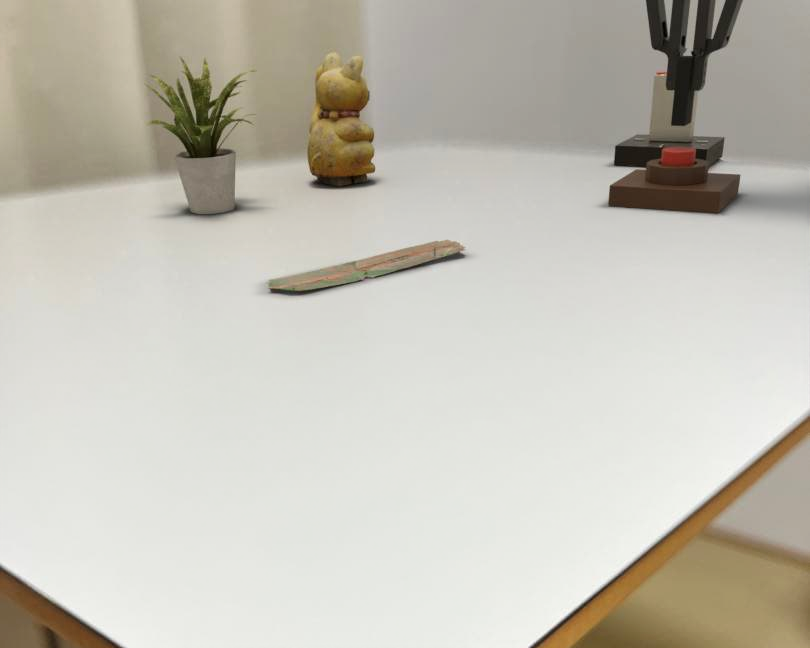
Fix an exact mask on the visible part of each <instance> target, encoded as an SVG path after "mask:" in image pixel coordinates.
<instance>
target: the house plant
mask: <svg viewBox="0 0 810 648" xmlns="http://www.w3.org/2000/svg"><path fill="white" fill-rule="evenodd" d="M179 58H180V60H181V63H182V66H183V69H184V71H182V70H181V72H182V73H183V74H184V75H185V77H186V79H187V81H188V82H187V83H188V85H189V89H190V94H191V98H192V102H193V107H194V110H195V118H194V115H193V111H192V109H191V106H190V104H189V102H188V99H187V96H186V93H185V90H184V88H183V85H182V84H181V81H180V79H179V77H177V79H176V89H177V92H178V95H177V93H176V91H175V89H174V88H173V86H172V85H171V84H170V85H169V84H167V83H166V82H165V81H163V80H162V79H161V78H159V77H158V76H155V75H153V74H149V76H150V77H152V79H154V80H155V82H156V83H157V84H158V86H159V87H160V88H161V90H162V91H163V92H164V94H165V96H166V97H167V99H168V100H167V99H166V98H165V97H163V96H162V94H160V93H159V92H158V91H157V90H156V89H154V88H153V87H151V86H149V85H148V84H146V83H144V85H145V87H147V88H148V89H149V90H151V91H153V93H154V94H155V95H157V97H158V98H159V99H160V100H161V101H162V102H163V103H164V104H165V105H166V106H167V107H168V108H169V110H171V112H172V113H173V114H174V118H173V123H174V124H171V123H168V122H166V121H162V120H159V119H154V120H151V121H149V122H148V123H147V124H146V125H145V127H147V126H150V125H162V128H164V129H166V130H167V131H169V132H170V133H171V134H173V135H174V136H176V137H177V138H178V139H179V140H180V143H182V145H183V146H184V148H185V150H184V151H180V152H176V153H175V154H174V155H173V158H174V161H175V165H176V168H177V171H178V175H179V178H180V181H181V184H182V188H183V191H184V194H185V197H186V200H187V204H188V207H189V210H190V212H191V213H193V214H197V215H214V214H223V213H227V212H231V211H233V210H234V209H235V204H236V203H235V202H236V200H235V199H236V198H235V197H236V165H237V164H236V160H237V159H236V158H237V157H236V156H237V152H236V150H235V149H231V148H221V147H222V145H223V144H224V142H225V140H226V139H227V138H228V137H229V135H230V134H231V133H232V132H233V130H234V129H235V128H236V126H237V125H239V123H241V124H243V123H242V122H245V123H248V124H250V125H252V126H254V124H253V123H252V122H251V121H250V120H247V119H244V118H245V117H248V116H249V117H250V116H253V115H256V113H250V114H247V115H245V116H243V117H242V118H232V117H233V116H234V115H235V113H236V112H237V111H240V110H241V109H244V108H245V106H244V107H237V108H235V109H233V110H231V111H230V112H228V114H227V115H225V114H224V115H222V114H223V111H224V108H225V106H226V103H227V102H228V100H229V98H232V97H235V96H237V95H239V94H241V93H242V91H241V92H240V91H239V92H234V93H233V91H234V90H235V89H236V88H243V87H244V86H242V85H239V84H241V83H244V82H248V79H246V80H240V79H241V77H243V76H245V75H246V74H249V73H253V72H256V70H254V69H252V70H249V71H244V72H242V73H239V74H238V75H236V76H235V77H234V78H232V79H231V80H230V81H229V82H228V83H227V84H226V85H225V86H224V87H223V89H222V90H221V91H220V93H219V95H218V97H217V98H215V99H213V100H211V95H212V89H213V86H212V85H213V84H212V83H211V71H210V69H209V64H208V62H207V60H206V57H204V59H203V64H202V74H201V77H196V78H194V77H193V75H192V73H191V71H190V69H189V67H188V64H187V63H186V61H185V60H184V59H183V58H182V56H179ZM238 80H239V81H238ZM211 109H212V110H211ZM210 110H211V113H210V116H209V111H210ZM221 118H222V119H221ZM235 122H236V123H235ZM231 123H235V125H234V126H233V127H232V129H231V130H230V131H229V132H228V133H227V135H226V136H225V138H224V139H222V141H221V143H220V144H219V145H218V143H219V141H220V138H221V136H222V133H223V131H224V130H225V129H226V127H227V126H229V125H230V124H231Z"/></svg>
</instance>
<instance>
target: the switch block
mask: <svg viewBox="0 0 810 648" xmlns="http://www.w3.org/2000/svg"><path fill="white" fill-rule="evenodd" d="M709 167H710V166H709V162H707V161H705V160H701V159H695V164H694V165H690V166H666V165H661V159H655V160H650V161H649V162H647V163H646V167H645V169H637V168H636V169H635V170H633V171H631V172H629V173H628V174H626V175H625V176H623V177H621V178H619V179H618V180H616V181H614V182H613V183H611V184H610V185H609V189H608V190H609V191H608V203H607V206H608V207H618V208H633V209H634V208H635V209H649V210H663V211H677V212H678V211H679V212H694V213H709V214H711V213H712V214H719V213H720V212H721V211H722V210H723V209H724V208H725V207H726V206H727V205H729V203H731V202H732V201H733V200H734V199H735V198H736V197H738V195H739V191H740V190H739V189H740V183H741V173H740V174H738V173H718V172H709Z"/></svg>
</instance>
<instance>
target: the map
mask: <svg viewBox="0 0 810 648" xmlns="http://www.w3.org/2000/svg"><path fill="white" fill-rule="evenodd" d="M465 250H466V246H464V245H462V244H460V242H458V241H455V240H453V241H452V240H449V239H444V240H439V241H438V240H434V241H430V242H427V243H422V244H418V245H413V246H409V247H405V248H401V249H395V250H393V251H389V252H385V253H380V254H377V255H373V256H370V257H366V258H362V259H358V260H354V261H351V262H346V263H342V264H338V265H334V266H330V267H326V268H321V269H317V270H313V271H309V272H308V271H307V272H304V273H299V274H294V275H289V276H283V277H278V278H273V279H269V280H268V283H267V284H268V285H269V286H268V287H267V289H272V290H278V289H279V290H285V291H294V292H297V291H298V292H300V291H308V290H315V289H321V288H326V287H327V288H328V287H333V286H338V285H344V284H348V283H354V282H358V281H360V280H361V281H363V280H364V279H366V278H371V279H373V278H376V277H378V276H383V275H387V274H390V273H394V272H396V271H400V270H403V269H408V268H411V267H413V266H417V265H420V264H424V263H427V262H429V261H432V260H437V259H440V258H443V257H447V256H451V255H453V254H456V253H460V252H464V251H465ZM466 251H467V250H466Z"/></svg>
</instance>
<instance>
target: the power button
mask: <svg viewBox="0 0 810 648" xmlns="http://www.w3.org/2000/svg"><path fill="white" fill-rule="evenodd" d="M695 155H696V149H694V148H690V147H669V148H664V149H662V156H661V165H666V166H690V165H694V164H695Z"/></svg>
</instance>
